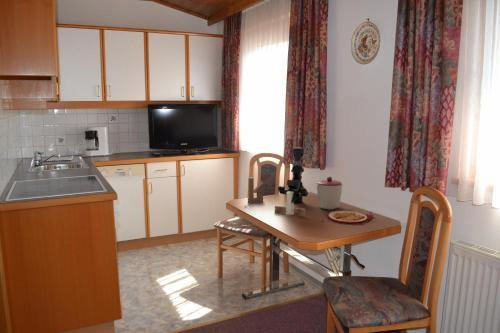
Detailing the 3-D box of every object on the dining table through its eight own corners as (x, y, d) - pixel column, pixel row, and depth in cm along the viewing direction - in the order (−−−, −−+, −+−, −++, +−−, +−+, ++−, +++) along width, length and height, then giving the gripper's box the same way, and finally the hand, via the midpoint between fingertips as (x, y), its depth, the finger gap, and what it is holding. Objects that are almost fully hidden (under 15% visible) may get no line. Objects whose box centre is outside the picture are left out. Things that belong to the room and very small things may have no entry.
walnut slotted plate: (274, 212, 259) (274, 206, 259) (275, 212, 261) (275, 205, 260) (304, 216, 250) (304, 209, 249) (305, 216, 251) (305, 209, 251)
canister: (319, 203, 284) (319, 173, 281) (345, 206, 276) (346, 175, 273) (311, 209, 268) (312, 177, 265) (339, 212, 260) (340, 180, 257)
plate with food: (331, 213, 262) (331, 207, 261) (373, 216, 250) (373, 211, 250) (320, 223, 240) (320, 217, 240) (366, 228, 228) (366, 221, 228)
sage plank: (288, 211, 258) (288, 191, 256) (293, 211, 256) (293, 191, 254) (286, 212, 254) (286, 192, 252) (290, 213, 253) (291, 192, 251)
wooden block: (263, 202, 289) (263, 177, 286) (249, 203, 284) (249, 178, 282) (261, 200, 292) (261, 176, 290) (247, 202, 288) (247, 177, 285)
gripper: (278, 173, 259) (271, 193, 252) (306, 175, 251) (299, 196, 243) (283, 183, 268) (276, 203, 260) (310, 185, 259) (304, 206, 251)
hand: (289, 202), depth 253 cm, fingers closed on sage plank, 3 cm apart
